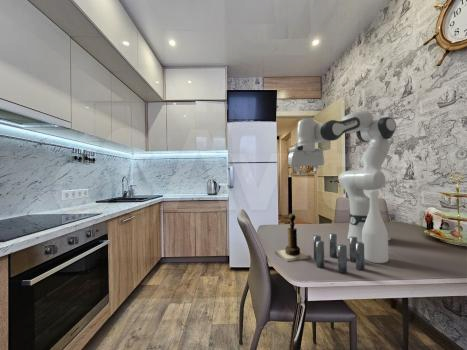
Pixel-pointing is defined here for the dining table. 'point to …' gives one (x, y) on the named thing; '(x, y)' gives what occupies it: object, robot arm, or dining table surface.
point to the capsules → (340, 253)
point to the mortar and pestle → (292, 238)
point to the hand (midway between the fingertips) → (306, 174)
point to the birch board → (292, 257)
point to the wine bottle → (375, 233)
